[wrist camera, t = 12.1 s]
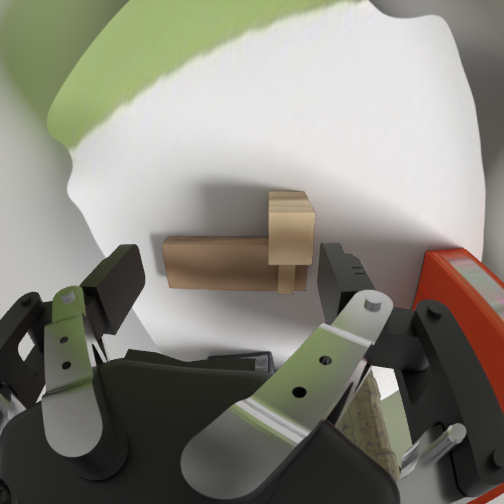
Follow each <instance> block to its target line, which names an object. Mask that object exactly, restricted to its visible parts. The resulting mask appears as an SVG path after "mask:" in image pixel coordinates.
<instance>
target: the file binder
mask: <svg viewBox="0 0 504 504" xmlns="http://www.w3.org/2000/svg"><path fill="white" fill-rule="evenodd" d="M425 299H431V300H436V301H439V302H441V303H443V304H444V305H446V306H447V307H448V308H449V309H450V311H451V312H452V314H453V316H454V317H455V319H456V321H457V322H458V324H459V326H460V327H461V329H462V331H463V332H464V334H465V336H466V338H467V339H468V341H469V343H470V345H471V346H472V348H473V350H474V352H475V354H476V356H477V358H478V359H479V361H480V363H481V365H482V367H483V369H484V371H485V373H486V375H487V377H488V380H489V382H490V384H491V386H492V388H493V390H494V393H495V395H496V397H497V399H498V402H499V404H500V407H501V409H502V411H503V414H504V283H503V282H502V281H501V280H500V279H499V278H498V277H497V276H495V274H493V273H492V272H491V271H490V270H489V269H488V268H487V267H486V266H485V265H483V264H482V263H481V262H480V261H479V260H478V259H477V258H475V257H474V256H473V255H472V254H471V253H469V252H468V251H467V250H466V249H464V248H461V249H446V250H431V251H427V252H425V257H424V262H423V267H422V272H421V277H420V281H419V285H418V289H417V293H416V297H415V301H414V305H413V308H412V311H415V308H416V305H417V304H418V302H420V301H422V300H425ZM503 493H504V482H503V483H502V484H500V485H499V486H497V487H495V488H494V489H492V490H490V491H489V492H487V493H485V494H483V495H481V496H479V497H478V498H476V499H474V500H472V501H470V502H468V503H466V504H485V503H487V502H489V501H491V500H493V499H494V498H496V497H498V496H499V495H501V494H503Z"/></svg>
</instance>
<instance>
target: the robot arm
mask: <svg viewBox="0 0 504 504" xmlns="http://www.w3.org/2000/svg"><path fill="white" fill-rule="evenodd" d="M317 283H318V291H319V295H320V299H321V303H322V307H323V311H324V316H325V320H326V323H322V324H321V325H320V326H319V327H318V328H317V329H316V330H315V331H314V332H313V333H312V334H311V336H310V337H309V338H308V339H307V340H306V341H305V342H304V343H303V344H302V345H301V346H300V348H299V349H298V350H297V351H296V352H295V353H294V354H293V355H292V356H291V357H290V358H289V359H288V360H287V361H286V362H285V363H284V364H283V365H282V366H281V367H280V368H279V369H278V370H277V371H276V372H275V374H272V373H270V372H267V371H264V370H260V369H256V359H251V358H215V359H208V360H200V361H192V362H184V361H180V360H177V359H174V358H171V357H168V356H165V355H162V354H159V353H156V352H148V351H139V350H132V349H128V351H127V353H126V356H125V357H124V358H119V359H115V360H110V358H109V355H108V352H107V348H106V345H105V341H104V339H103V337H102V336H103V334H111V335H116V333H117V331H118V329H119V328H120V326H121V324H122V323H123V321H124V319H125V317H126V316H127V314H128V312H129V311H130V309H131V307H132V306H133V304H134V303H135V301H136V299H137V298H138V296H139V294H140V293H141V291H142V290H143V288H144V285H145V273H144V269H143V265H142V260H141V256H140V252H139V248H138V246H137V245H136V244H123V245H120V246H118V248H117V249H116V250H115V251H114V252H113V253H112V254H111V255H110V256H109V257H107V258H105V259H104V260H102V262H101V263H100V264H99V265H98V266H97V268H95V269H94V270H93V272H92V273H91V274H89V276H88V277H87V278H86V279H85V280H84V281H83V282H82V283H81V284H80V285H79V286H70V287H66V288H64V289H62V290H60V291H59V292H58V293H56V295H55V296H54V298H53V301H49V302H42V300H41V297H40V295H39V293H37V292H30V293H27V294H25V295H23V296H22V297H20V298H19V299H18V300H17V301H16V302H15V303H14V305H13V306H12V307H11V308H10V309H9V310H8V311H7V313H6V314H5V315H4V316H3V317H2V319H1V320H0V504H466V503H468V502H470V501H472V500H474V499H476V498H478V497H479V496H481V495H483V494H485V493H487V492H489V491H490V490H492V489H494V488H495V487H497V486H499V485H500V484H502V483H503V482H504V414H503V411H502V409H501V407H500V404H499V402H498V399H497V397H496V395H495V393H494V390H493V388H492V386H491V384H490V382H489V380H488V377H487V375H486V373H485V371H484V369H483V367H482V365H481V363H480V361H479V359H478V358H477V356H476V354H475V352H474V350H473V348H472V346H471V345H470V343H469V341H468V339H467V338H466V336H465V334H464V332H463V331H462V329H461V327H460V326H459V324H458V322H457V321H456V319H455V317H454V316H453V314H452V312H451V311H450V309H449V308H448V307H447V306H446V305H444V304H443V303H441V302H439V301H436V300H431V299H425V300H422V301H420V302H418V304H417V305H416V308H415V311H412V310H406V309H400V308H396V307H393V302H392V300H391V299H390V298H389V297H388V296H387V295H385V294H384V293H382V292H379V291H376V290H375V288H374V286H373V284H372V283H371V281H370V279H369V277H368V275H367V274H366V271H365V270H364V268H363V266H362V264H361V262H360V261H359V260H358V259H357V258H356V257H354V256H353V255H352V254H345V253H344V251H343V249H342V247H341V245H340V243H321V246H320V256H319V267H318V278H317ZM27 332H28V334H29V335H30V338H31V339H32V341H33V343H34V344H35V346H34V347H33V349H32V350H31V352H30V353H29V355H28V356H27V358H26V360H25V361H23V360H22V358H21V357H20V355H19V353H18V345H19V343H20V341H21V340H22V338H23V337H24V336H25V334H26V333H27ZM372 366H378V367H385V368H392V369H394V373H395V376H396V379H397V383H398V387H399V390H400V394H401V397H402V401H403V405H404V409H405V413H406V417H407V422H408V426H409V430H410V435H411V440H412V446H411V447H410V448H409V449H408V450H407V451H406V452H405V454H404V456H403V458H402V462H401V474H400V477H399V479H398V480H397V482H395V480H394V479H393V477H392V476H391V475H390V474H389V472H388V471H386V470H385V469H384V468H383V467H382V466H380V465H379V464H378V463H377V462H376V461H374V460H373V459H372V458H371V457H370V456H368V455H367V454H366V453H365V452H364V451H363V450H361V449H360V448H359V447H358V446H357V445H356V444H354V443H353V442H352V441H351V440H350V439H349V438H348V437H346V436H345V435H344V434H343V433H342V432H341V431H340V430H339V429H337V428H336V426H337V425H338V423H339V422H340V420H341V419H342V417H343V415H344V414H345V412H346V410H347V408H348V406H349V405H350V403H351V401H352V400H353V398H354V396H355V395H356V393H357V392H358V390H359V388H360V387H361V385H362V383H363V382H364V380H365V378H366V376H367V375H368V373H369V371H370V369H371V368H372ZM45 384H46V393H45V394H44V395H43V396H42V400H41V401H39V402H37V403H36V401H37V399H38V397H39V395H40V393H41V391H42V389H43V387H44V386H45ZM35 403H36V404H35Z"/></svg>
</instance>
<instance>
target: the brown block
mask: <svg viewBox="0 0 504 504" xmlns="http://www.w3.org/2000/svg"><path fill="white" fill-rule="evenodd" d="M162 250H163V256H164V262H165V268H166V273H167V279H168V284H169V288H181V289H209V290H252V291H278V269H279V265H269V237H168V238H167V239H166V240H165V241H164V243H163V244H162ZM307 266H308V265H295V281H294V291H305V290H306V278H307Z"/></svg>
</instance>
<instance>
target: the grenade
mask: <svg viewBox="0 0 504 504" xmlns="http://www.w3.org/2000/svg"><path fill="white" fill-rule="evenodd" d="M380 397H381V395H380V392H379V389H378V385H377V382H376V380H375V378H374V377H373V372H372V370H371V369H370V371H369V373H368V375H367V376H366V378H365V380H364V382H363V383H362V385H361V387H360V388H359V390H358V392H357V393H356V395H355V396H354V398H353V400H352V401H351V403H350V405H349V406H348V408H347V410H346V412H345V414H344V415H343V417H342V419H341V420H340V422H339V423H338V425H337V426H336V428H337V429H339V430H340V431H341V432H342V433H343V434H344V435H345V436H346V437H348V438H349V439H350V440H351V441H352V442H353V443H354V444H356V445H357V446H358V447H359V448H360V449H361V450H363V451H364V452H365V453H366V454H367V455H368V456H370V457H371V458H372V459H373V460H374V461H376V462H377V463H378V464H379V465H380V466H382V467H383V468H384V469H385V470H386V471H388V472H389V474H390V475H391V476H392V477H393V479H394V480H395V482H397V480H398V479H399V477H400V474H401V468H400V467H399V466H398V462H397V457H396V455H395V453H394V452H393V451H392V450H391V446H390V442H389V438H388V434H387V430H386V426H385V422H384V418H383V414H382V411H381V407H380Z"/></svg>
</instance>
